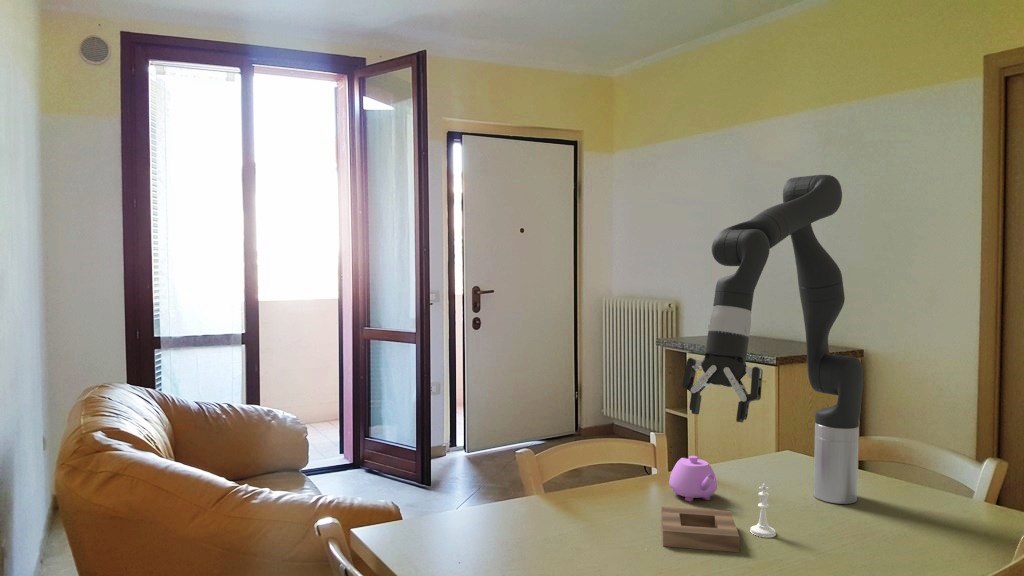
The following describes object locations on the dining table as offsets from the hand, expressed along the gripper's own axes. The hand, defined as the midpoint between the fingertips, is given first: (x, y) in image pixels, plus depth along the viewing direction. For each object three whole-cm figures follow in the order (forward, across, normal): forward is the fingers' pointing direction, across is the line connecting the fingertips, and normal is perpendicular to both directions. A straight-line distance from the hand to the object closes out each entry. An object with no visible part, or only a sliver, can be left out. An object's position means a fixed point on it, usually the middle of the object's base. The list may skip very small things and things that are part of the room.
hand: (716, 418), depth 134 cm
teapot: (+20, +14, -33) cm, 41 cm away
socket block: (+24, +4, -11) cm, 27 cm away
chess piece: (+22, -6, -20) cm, 30 cm away
